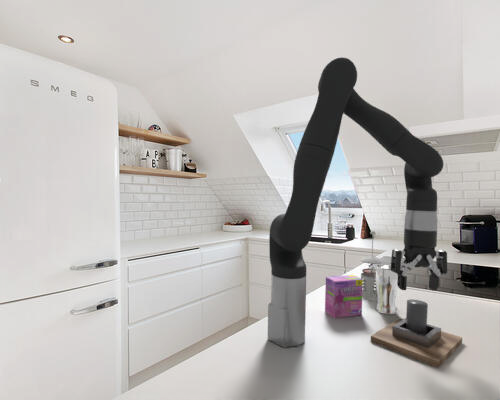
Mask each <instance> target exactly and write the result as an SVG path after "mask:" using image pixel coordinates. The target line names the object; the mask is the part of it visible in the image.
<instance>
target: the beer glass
mask: <svg viewBox="0 0 500 400" xmlns="http://www.w3.org/2000/svg"><path fill="white" fill-rule="evenodd" d="M390 268H391V264H384V263H382V264H376V268H375V270H376V279H375V280H376V282H375V284H376V285H375V287H376V289H377V296H378V301H376V302H377V304H376V308H375V310H376V312H378V313H380V314H383V315H388V316H389V315H390V316H393V315H396V314H397V310H396V296H397V292H398V289H399V287H398V285H397V280H398V275H397V273H395V272H392V271H391V270H390ZM376 289H375V290H376Z"/></svg>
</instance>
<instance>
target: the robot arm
mask: <svg viewBox="0 0 500 400" xmlns="http://www.w3.org/2000/svg"><path fill="white" fill-rule="evenodd" d="M357 81H358V70H357V67H356V64H355V63H354V62H353V61H352V60H350V59H349V58H347V57H341V56H340V57H336V58H334V59H333V60H331V61H329V62H328V63H327V64H326V65H325V67H324V68H323V69H322V72H321V74H320V77H319V80H318V85H317V92H318V95H317V99H316V100H317V101H316V104H315V107H314V109H313V112H312V113H311V116H310V119H309V120H308V122H307V125H306V127H305V130H304V132H303V134H302V137H301V139H300V142H299V146H298V147H297V148H298V149H297V151H296V155H295V158H294V162H293V170H292V171H293V172H292V191H291V196H290V199H289V203H288V206H287V209H286V211H285V213H281V214H278V215H277V216H275V218H274V219H273V220H272V222H271V224H270V226H269V239H268V240H269V246H268V247H269V263H270V267H271V268H270V269H271V278H270V279H271V281H270V282H271V285H270V302H269V303H268V305H267V340H269V341H271V342H273V343H274V344H276V345H278V346H280V347H282V348H284V349H286V348H287V347H289V348H290V347H298V346H300V345H302V344H304V343H305V341H306V307H307V306H306V302H307V265H306V262H305V259H304V256H303V249H305V247H307V245H308V244H309V242H310V241H311V238H312V236H313V235H312V234H313V231H314V227H315V220H316V215H317V214H316V213H317V211H318V210H317V209H318V206H319V205H318V204H319V201H320V198H321V195H322V192H323V189H324V186H325V183H326V179H327V176H328V172H329V170H330V167H331V164H332V161H333V157H334V155H335V151H336V150H335V149H336V146H337V142H338V138H339V134H340V130H341V124H342V119H343V115H345V116H347V117H348V118H349V119H351V120H352V121H353V122H354V123H356V124H357V125H359V127H361V128H362V129H363V130H364V131H366V133H368V134H369V135H370V136H371V137H372V138H373V139H374V140H375V141H376V142H377V143H379V145H381V147H382V148H383V149H385V150H386V151H387V152H388V153H389V154H390V155H392V156H395V157H398V158H400V159H401V160H402V161H404V163H405V164H404V168H403V169H404V170H403V175H404V182H405V183H404V184H405V189H406V205H405V206H406V207H405V215H404V224H403V225H404V226H403V227H404V230H403V244H404V245H403V246H404V249H403V250H399V249H396V248H393V249H392V251H391V259H390V265H391V268H390V270H391V271H392V272H395V273H397V275H398V280H397V285H398V289H400V290H401V291H407V285H408V284H407V281H408V276H407V275H408V274H409V272H410V271H412V270H413V269H414V267H415V268H426V269H427V270H428V271H429V273H430V274H429V276H428V277H429V279H428V280H429V281H428V288H429V290H432V291H437V290H438V289H439V284H440V276H441V275H446V274H447V273H448V252H447V251H445V250H442V249H436V247H437V242H438V192H437V190H436V189H434V188H433V183H432V182H433V181H432V179H433V177H436V176H438V175H439V174H440V173H441V172H442V170H443V169H444V160H443V157H442V156H441V154H440V153H439V152H438V151H437V150H436V149H435V148H434V147H433V146H431V145H429V144H428V143H427V142H425V141H424V140H422V139H420V138H419V137H417V136H415V135H414V134H412V133H411V131H409V130H408V128H406V126H405V125H403V124H402V123H401V121H399V120H398V119H396V117H394V116H392V115H391V114H390V113H388V112H386V111H384V110H382V109H380V108H377V107H376V106H374V105H372V104H371V103H369V102H368V101H366V100H365V99H364V98H363V97H361V95H360V94H359V93H358V92H357V91H356V90H355V89H354V88H355V87H356V84H357ZM402 259H403V260H402ZM434 259H435V261H434Z"/></svg>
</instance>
